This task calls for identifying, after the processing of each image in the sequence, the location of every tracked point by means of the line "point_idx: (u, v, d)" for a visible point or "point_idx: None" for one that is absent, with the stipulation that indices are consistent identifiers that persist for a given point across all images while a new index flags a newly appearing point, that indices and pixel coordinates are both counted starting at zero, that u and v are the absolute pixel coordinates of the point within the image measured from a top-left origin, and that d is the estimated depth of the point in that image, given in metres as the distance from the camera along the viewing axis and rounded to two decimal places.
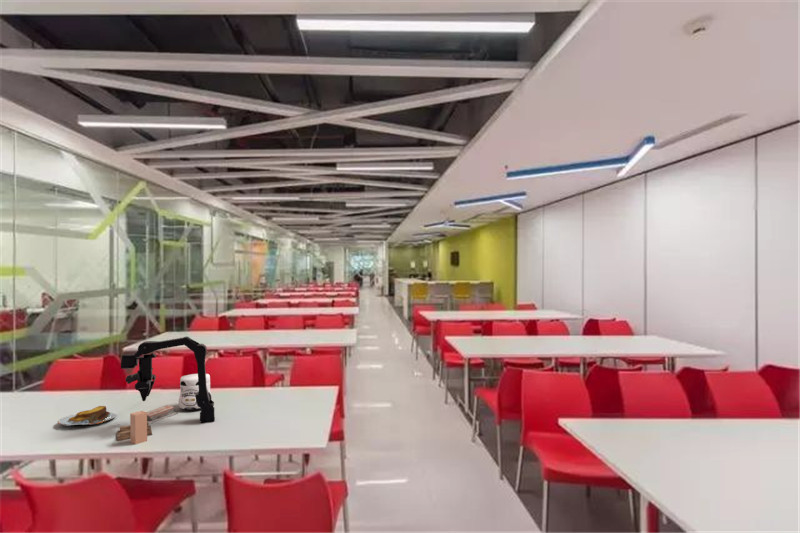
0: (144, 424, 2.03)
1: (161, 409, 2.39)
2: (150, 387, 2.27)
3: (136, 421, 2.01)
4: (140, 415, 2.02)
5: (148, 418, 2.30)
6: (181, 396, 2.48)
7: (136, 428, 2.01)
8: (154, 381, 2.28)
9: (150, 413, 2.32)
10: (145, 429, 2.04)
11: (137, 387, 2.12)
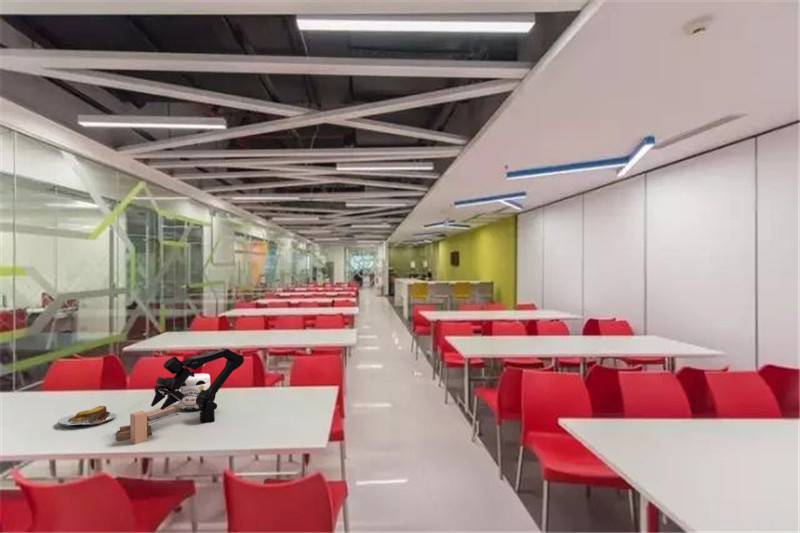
0: (144, 424, 2.03)
1: None
2: (159, 399, 2.16)
3: (136, 421, 2.01)
4: (140, 415, 2.02)
5: (147, 418, 2.30)
6: None
7: (136, 428, 2.01)
8: (165, 396, 2.19)
9: (149, 413, 2.32)
10: (145, 429, 2.04)
11: (175, 393, 2.08)
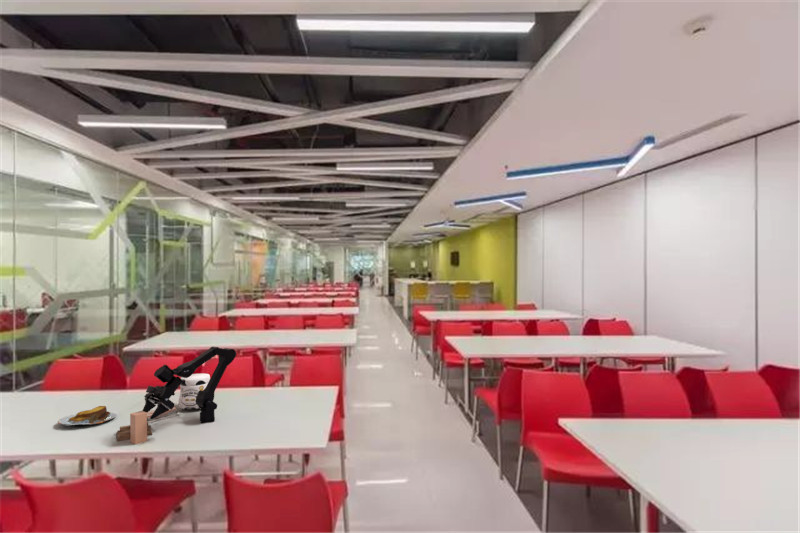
0: (144, 424, 2.03)
1: None
2: (150, 408, 2.13)
3: (136, 421, 2.01)
4: (140, 415, 2.02)
5: None
6: (181, 396, 2.48)
7: (136, 428, 2.01)
8: (155, 405, 2.16)
9: (149, 413, 2.32)
10: (145, 429, 2.04)
11: (165, 403, 2.05)
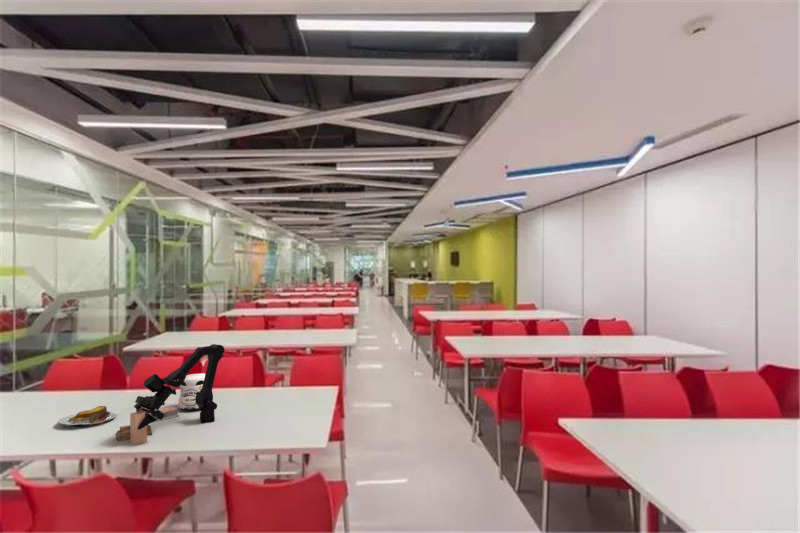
0: None
1: (162, 410, 2.37)
2: None
3: (136, 421, 2.01)
4: (140, 415, 2.02)
5: None
6: (181, 396, 2.48)
7: (136, 428, 2.01)
8: None
9: None
10: (145, 429, 2.04)
11: (154, 413, 2.01)
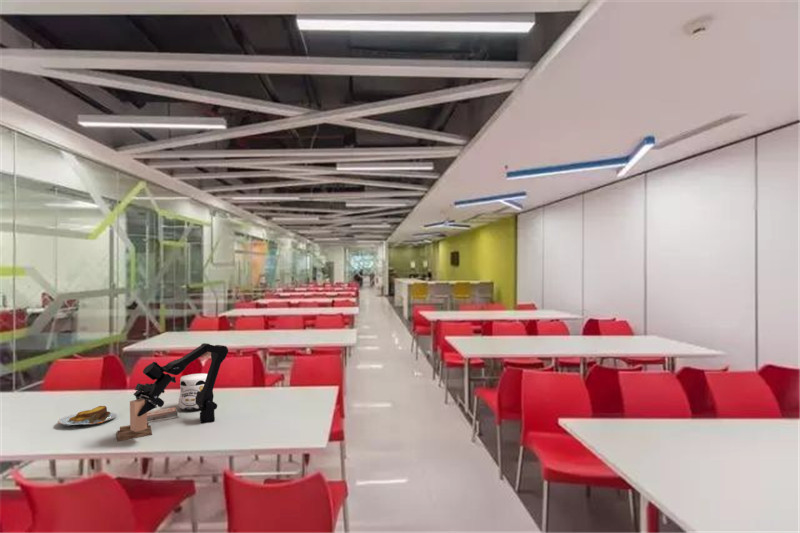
0: None
1: (162, 411, 2.36)
2: None
3: (136, 408, 2.01)
4: (140, 403, 2.02)
5: None
6: (181, 396, 2.48)
7: (136, 415, 2.01)
8: None
9: (147, 413, 2.32)
10: (145, 417, 2.04)
11: (154, 400, 2.01)
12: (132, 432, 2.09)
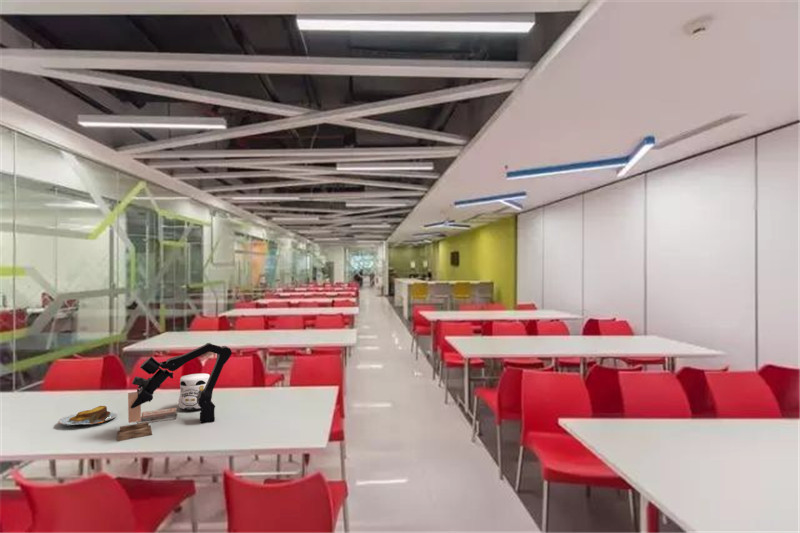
0: None
1: (161, 411, 2.35)
2: None
3: (129, 400, 2.11)
4: (133, 395, 2.11)
5: None
6: (181, 396, 2.48)
7: (129, 407, 2.10)
8: None
9: (147, 413, 2.32)
10: (139, 409, 2.13)
11: (142, 395, 2.07)
12: (132, 432, 2.09)
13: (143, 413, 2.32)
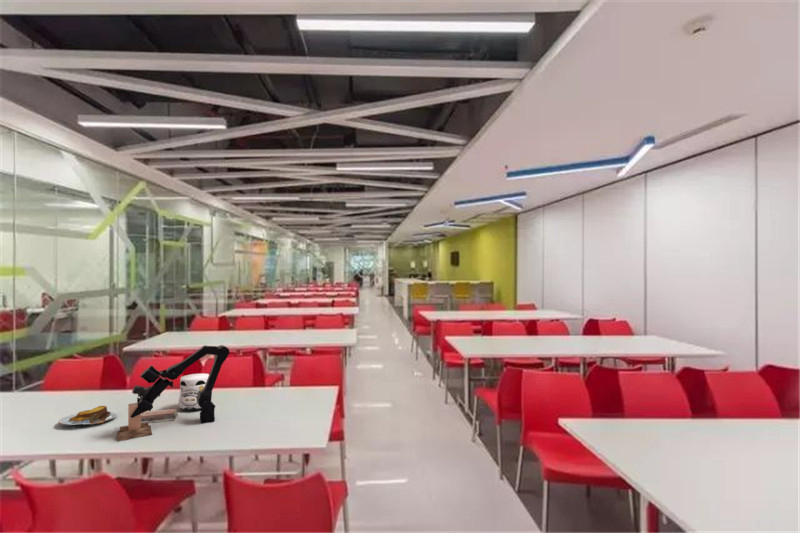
0: (138, 416, 2.12)
1: (161, 412, 2.34)
2: None
3: (130, 411, 2.11)
4: (134, 407, 2.12)
5: None
6: (181, 396, 2.48)
7: (129, 418, 2.11)
8: None
9: (146, 413, 2.32)
10: (139, 420, 2.13)
11: (142, 404, 2.07)
12: (132, 432, 2.09)
13: (143, 413, 2.32)
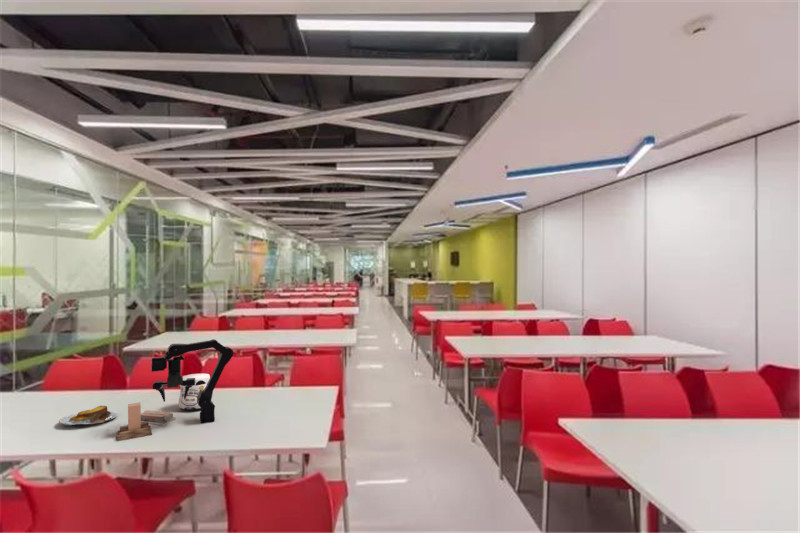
0: (137, 416, 2.12)
1: (156, 413, 2.31)
2: (164, 392, 2.23)
3: (129, 412, 2.11)
4: (133, 407, 2.12)
5: None
6: (181, 396, 2.48)
7: (129, 419, 2.10)
8: (162, 386, 2.24)
9: (145, 413, 2.33)
10: (138, 421, 2.13)
11: (194, 383, 2.25)
12: (132, 432, 2.09)
13: (144, 412, 2.34)
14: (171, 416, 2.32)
